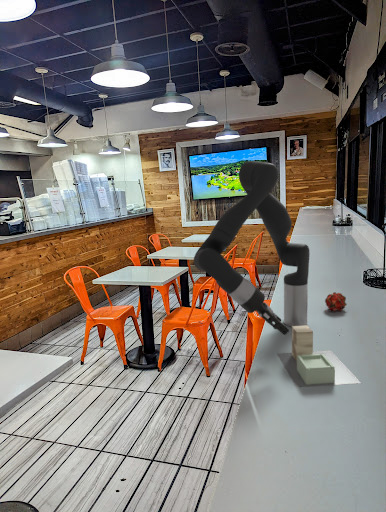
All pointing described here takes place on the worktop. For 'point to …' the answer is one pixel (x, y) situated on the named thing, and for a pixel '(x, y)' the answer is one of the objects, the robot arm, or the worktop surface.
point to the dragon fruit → (335, 301)
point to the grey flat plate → (340, 378)
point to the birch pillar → (302, 341)
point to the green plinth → (315, 369)
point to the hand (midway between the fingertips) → (282, 327)
